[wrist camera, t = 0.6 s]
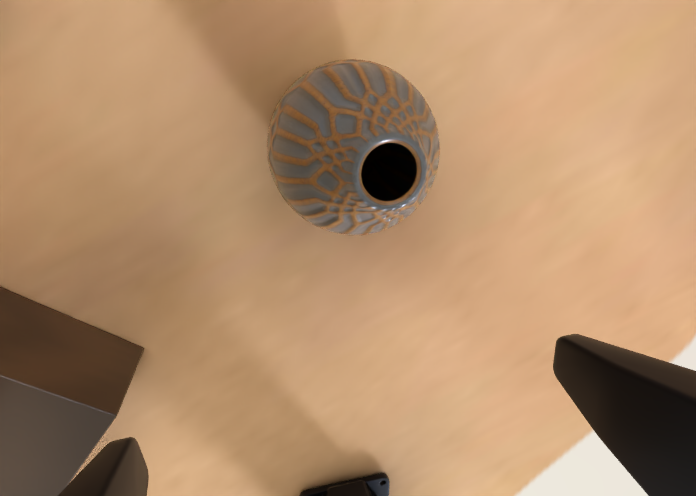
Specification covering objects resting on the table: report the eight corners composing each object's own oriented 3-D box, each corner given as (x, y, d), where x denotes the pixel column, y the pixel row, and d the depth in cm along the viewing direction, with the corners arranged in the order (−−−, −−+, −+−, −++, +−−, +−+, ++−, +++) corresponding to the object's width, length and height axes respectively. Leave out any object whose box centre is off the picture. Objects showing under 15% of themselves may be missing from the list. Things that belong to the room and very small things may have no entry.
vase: (254, 196, 20) (258, 264, 12) (276, 47, 18) (298, 13, 10) (381, 216, 22) (456, 286, 14) (414, 85, 20) (525, 81, 12)
